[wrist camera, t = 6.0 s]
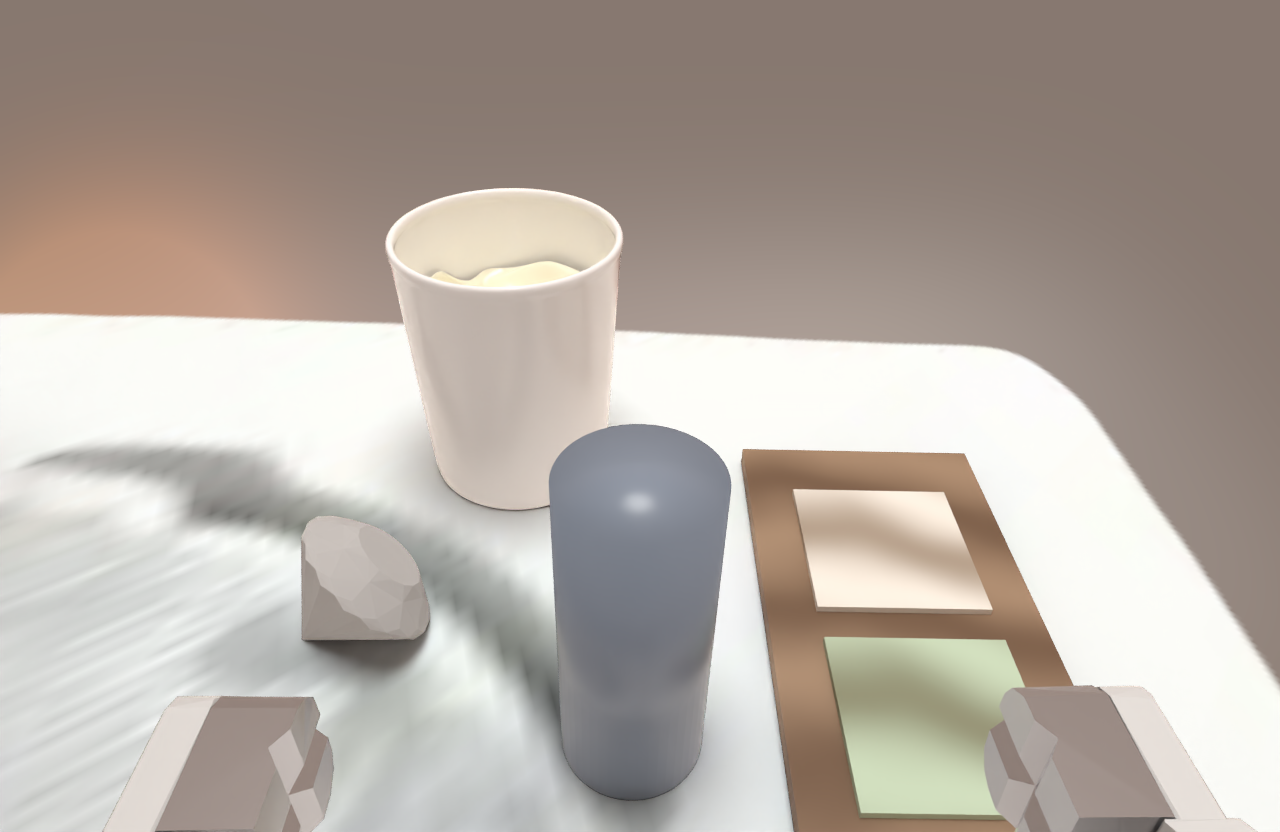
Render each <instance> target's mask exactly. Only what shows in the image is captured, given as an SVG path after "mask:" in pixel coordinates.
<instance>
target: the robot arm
mask: <svg viewBox="0 0 1280 832" xmlns="http://www.w3.org/2000/svg"><path fill="white" fill-rule="evenodd" d="M999 708H1000V710H1001V713H1002V715H1003V718H1004V720H1003V721H1002V722H1001V723H999V724H998V725H996V726H995V727H993V728H992V729H990V731H989V734H988V737H987V740H986V743H985V746H984V771H985V776H986V780H987V785H988V789H989V792H990V795H991V798H992V801H993V804H994V806H995V809H996V811H997V812H999V813H1000V814H1001V815H1002V816H1003V817H1004V818H1005V819H1006V820H1007V821H1008V822H1010V823H1011V824H1012V825H1013V826H1014V827H1015V828H1016V830H1015V832H1257V831H1256V830H1254V829H1253V828H1252V827H1250V826H1249V825H1248V824H1246V823H1245V822H1244V821H1243V820H1241V819H1236V818H1226V816H1225V815H1224V813H1223V812H1222V810H1221V808H1220V807H1219V805H1218V803H1217V802H1216V800H1215V798H1214V797H1213V795H1212V793H1211V792H1210V790H1209V788H1208V787H1207V785H1206V783H1205V782H1204V780H1203V779H1202V777H1201V775H1200V774H1199V772H1198V770H1197V769H1196V767H1195V765H1194V764H1193V762H1192V760H1191V759H1190V757H1189V755H1188V754H1187V752H1186V750H1185V749H1184V747H1183V745H1182V744H1181V742H1180V741H1179V739H1178V737H1177V736H1176V734H1175V732H1174V731H1173V729H1172V727H1171V726H1170V724H1169V722H1168V721H1167V719H1166V717H1165V716H1164V714H1163V712H1162V711H1161V709H1160V708H1159V706H1158V704H1157V703H1156V701H1155V699H1154V698H1153V696H1152V695H1151V694H1150V693H1149V692H1148V691H1147V690H1145V689H1144V688H1143V687H1140V686H1110V687H1094V686H1092V685H1091V686H1055V687H1018V688H1011V689H1010V690H1008V691H1007V692H1005V693H1004V696H1003V698H1002V700H1001V703H1000V705H999ZM319 717H320V712H319V710H318V707H317V705H316V702H315V700H314V698H313V697H241V696H178V697H177V698H176V699H175V700H174V701H173V702H172V703H171V704H170V705H169V706H168V707H167V708H166V709H165V710H164V712H163V714H162V716H161V718H160V720H159V722H158V724H157V725H156V727H155V729H154V731H153V733H152V735H151V737H150V739H149V741H148V743H147V745H146V747H145V749H144V751H143V753H142V755H141V757H140V759H139V761H138V763H137V765H136V767H135V769H134V771H133V773H132V775H131V776H130V778H129V780H128V782H127V784H126V786H125V788H124V790H123V792H122V794H121V796H120V798H119V800H118V802H117V804H116V806H115V808H114V810H113V812H112V814H111V816H110V818H109V820H108V822H107V824H106V825H105V827H104V829H103V831H102V832H312V831H313V830H314V829H315V828H316V827H317V826H318V825H319V824H320V823H321V822H322V821H323V820H324V818H325V814H326V810H327V807H328V803H329V799H330V796H331V789H332V780H333V771H334V765H333V753H332V748H331V745H330V742H329V739H328V737H326V736H325V735H323V734H322V733H321V732H319V731H318V730H316V726H317V723H318V720H319Z"/></svg>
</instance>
